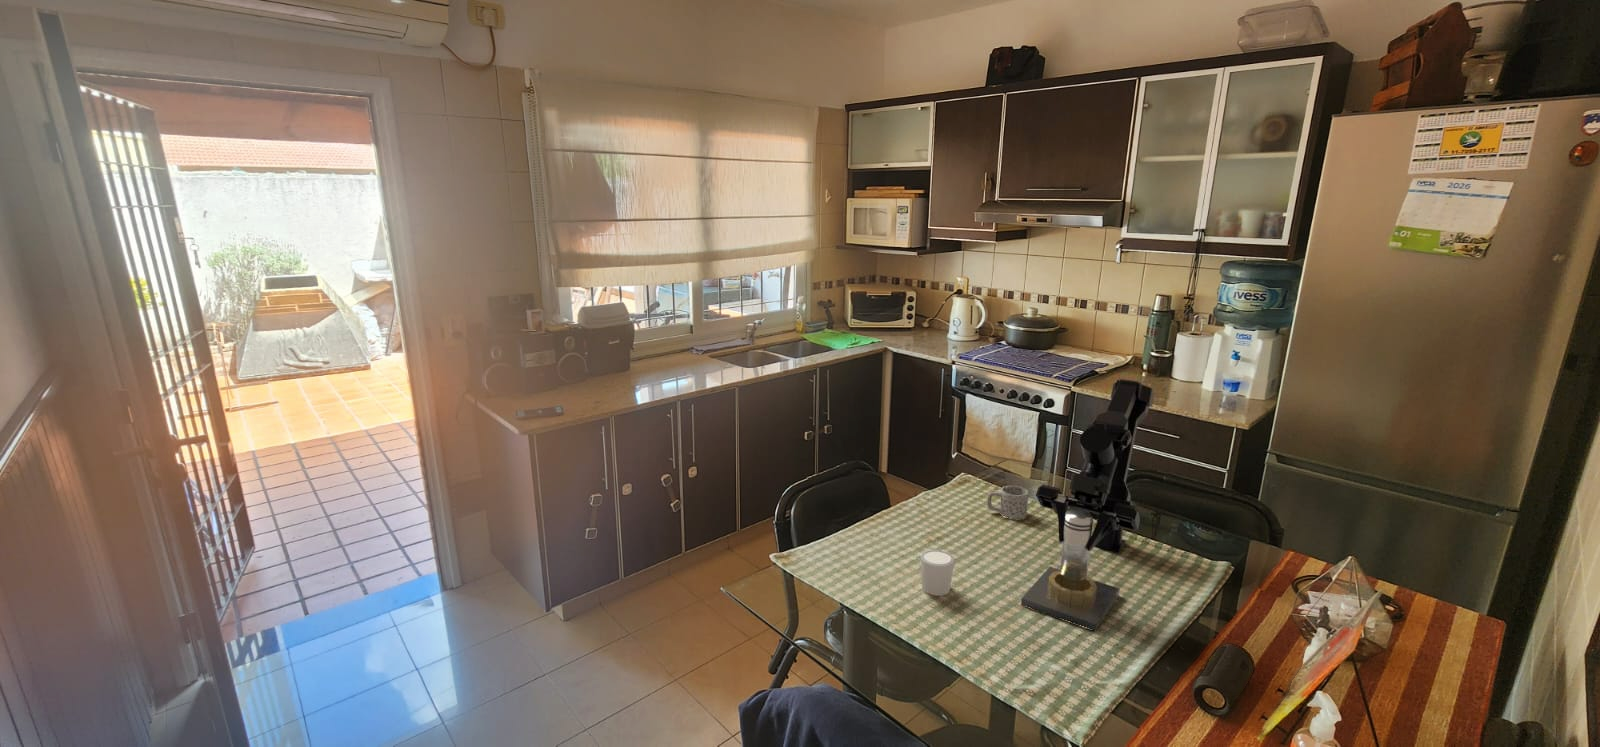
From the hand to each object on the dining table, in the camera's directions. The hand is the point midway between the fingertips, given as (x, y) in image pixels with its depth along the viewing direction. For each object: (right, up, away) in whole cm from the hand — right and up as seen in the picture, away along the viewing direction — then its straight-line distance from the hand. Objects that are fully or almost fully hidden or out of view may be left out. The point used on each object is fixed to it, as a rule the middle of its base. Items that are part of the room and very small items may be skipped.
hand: (1074, 545), depth 130 cm
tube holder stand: (+1, -12, +4) cm, 12 cm away
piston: (+1, -6, +2) cm, 7 cm away
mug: (0, -3, +43) cm, 43 cm away
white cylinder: (-25, -11, +8) cm, 29 cm away
